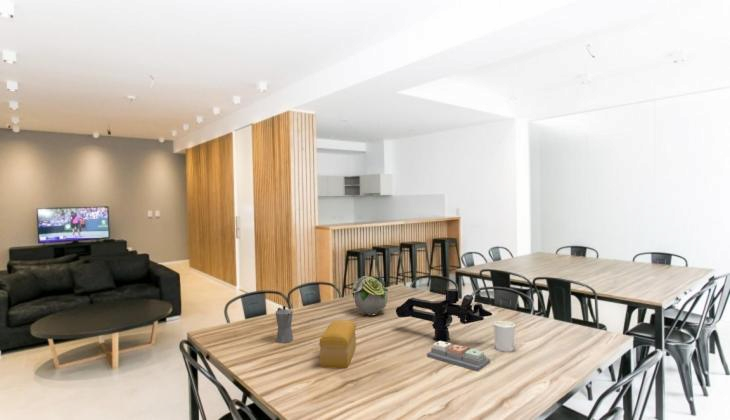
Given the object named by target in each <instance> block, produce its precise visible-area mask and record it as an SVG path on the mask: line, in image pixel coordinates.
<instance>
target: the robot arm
mask: <svg viewBox="0 0 730 420" xmlns="http://www.w3.org/2000/svg"><path fill="white" fill-rule="evenodd" d="M459 291H460V289H458V288H446V289H444V292H445V299H444V300H435V301H434V300H433V301H431V300H426V299H422V298H415V297H411V298H408V299H407V300H406V301H404V302H403V303H402V304H401V305H399V306H396V308H395V314H396V316H397V317H399V318H415V319H420V320H423V321H428V322H432V324H431V325H432V329H433V330H434V337H433V338H432V340H433V339H434V341H437V342H438V341H443V342H446V341H448V340H450V339H451V337H450V331H449V327H450V326H451V324H452V322H453V317H457V319H459V322H460V323H461V324H463V325H467V324H470V323H476V322H480V321H483V320H485V317H491V316H493V313H492V312H491V311H488V310H487V309H485V308H484V307H483V304H482V303H479V302H477V303H476V304H473V305H472V303H473V300H474V297H473V295H471V294H466V295H464V296H463V298H462V301H461V304H457V303H458V302H460V301H459V300H460V295H459V294H460V292H459ZM414 307H416V308H420V309H416V308H414ZM421 309H426V310H429V311H425V310H421ZM430 311H431V312H430Z"/></svg>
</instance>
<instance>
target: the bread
mask: <svg viewBox="0 0 730 420" xmlns="http://www.w3.org/2000/svg"><path fill="white" fill-rule="evenodd" d="M356 329H357V326H356V323H355V322H353V321H352V320H349V319H334V320H332V321H331V323H330V324H329V325H328V326H327V328H326V329H325V331H324V332H323V334H322V335H321V337H320V339H319V344H318V345H319V348H320V351H319V364H320V367H321V368H329V369H331V368H333V369H348V368H349V367H350V364H351V361H352V358H353V356H354V355H355V351H356V345H357V343H356V342H357V339H356V338H357V337H356Z"/></svg>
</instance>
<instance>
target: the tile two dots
mask: <svg viewBox="0 0 730 420" xmlns="http://www.w3.org/2000/svg"><path fill="white" fill-rule="evenodd" d="M432 345H433V346H432V347H433V348H434V349H438V350H442V351H447V350H448V349H449V348H450V347H452V343H450V342H446V341H445V342H443V341H437V342H435V343H433V344H432Z"/></svg>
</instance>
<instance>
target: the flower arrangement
mask: <svg viewBox="0 0 730 420" xmlns="http://www.w3.org/2000/svg"><path fill="white" fill-rule="evenodd" d="M350 293H352V299H353V300H354V304H355V306H356V308H357V309H359V310H360V311H362V312H363V313H364V315H366V314H368V315H367V316H374V315H373V314H376V315H378V314H377V313H379V311H382V310H384V309H385V308H386V306H387V302H388V293H389V290H388V289H387V288H386V282H385V280H384V279H383V278H381V277H378V276H377V275H376V276H373V275H364V276H361V277H360V278H359V277H358V278H357V280H356V282H355V283H353V286H352V288H351V290H350Z"/></svg>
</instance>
